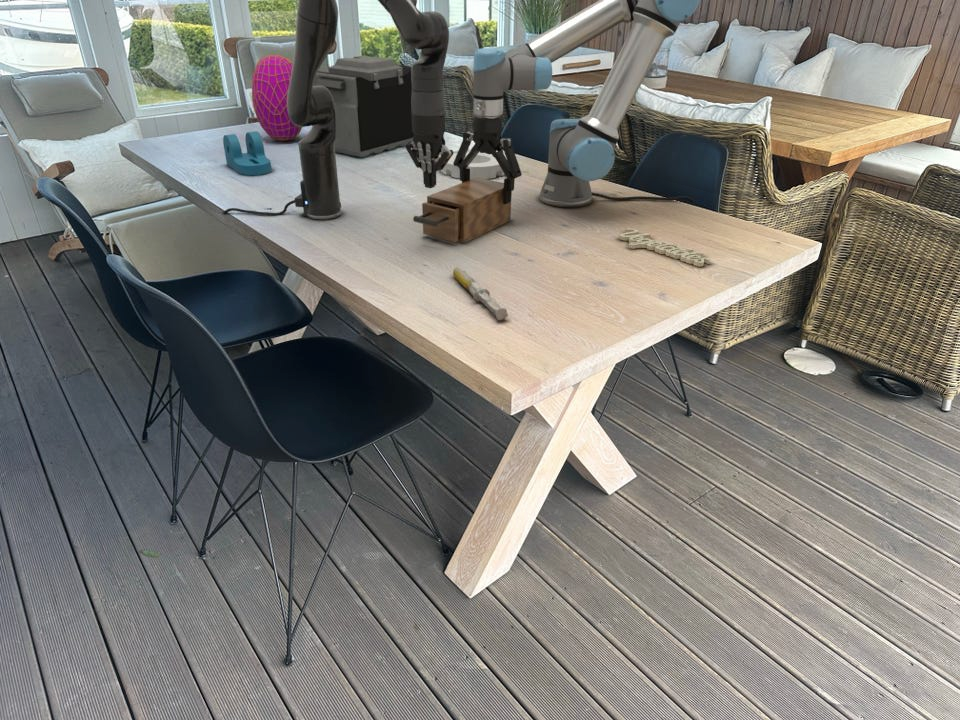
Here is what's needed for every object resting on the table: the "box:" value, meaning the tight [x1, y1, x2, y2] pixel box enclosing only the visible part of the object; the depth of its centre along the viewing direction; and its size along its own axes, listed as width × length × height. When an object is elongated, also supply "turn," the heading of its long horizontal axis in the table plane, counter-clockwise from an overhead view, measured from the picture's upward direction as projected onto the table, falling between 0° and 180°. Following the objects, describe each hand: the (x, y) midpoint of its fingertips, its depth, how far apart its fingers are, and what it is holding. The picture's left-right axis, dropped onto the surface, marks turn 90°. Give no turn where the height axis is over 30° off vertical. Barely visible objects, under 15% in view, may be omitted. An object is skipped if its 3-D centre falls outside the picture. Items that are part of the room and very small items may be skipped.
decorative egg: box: [251, 54, 303, 142], centre depth 257 cm, size 19×19×30 cm
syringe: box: [452, 266, 509, 321], centre depth 145 cm, size 25×4×3 cm, turn 21°
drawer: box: [412, 201, 461, 243], centre depth 175 cm, size 26×10×8 cm, turn 145°
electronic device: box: [313, 55, 414, 159], centre depth 250 cm, size 37×22×30 cm, turn 144°
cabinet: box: [426, 177, 512, 244], centre depth 180 cm, size 22×12×10 cm, turn 145°
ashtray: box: [440, 148, 507, 180], centre depth 230 cm, size 23×23×4 cm
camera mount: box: [222, 131, 272, 176], centre depth 226 cm, size 18×10×10 cm, turn 35°
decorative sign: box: [618, 227, 711, 267], centre depth 169 cm, size 26×1×10 cm
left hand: (430, 187), depth 163 cm, fingers closed
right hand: (486, 198), depth 184 cm, fingers open, 13 cm apart
